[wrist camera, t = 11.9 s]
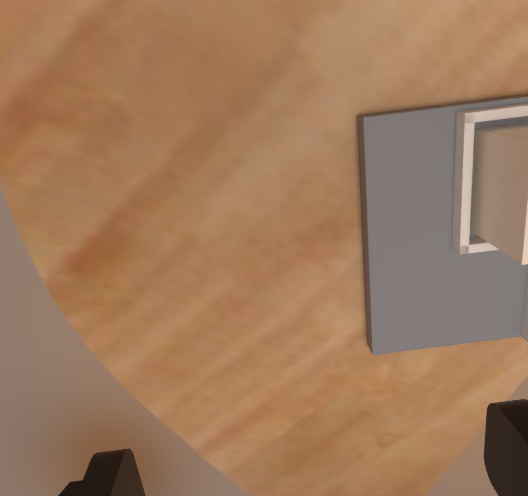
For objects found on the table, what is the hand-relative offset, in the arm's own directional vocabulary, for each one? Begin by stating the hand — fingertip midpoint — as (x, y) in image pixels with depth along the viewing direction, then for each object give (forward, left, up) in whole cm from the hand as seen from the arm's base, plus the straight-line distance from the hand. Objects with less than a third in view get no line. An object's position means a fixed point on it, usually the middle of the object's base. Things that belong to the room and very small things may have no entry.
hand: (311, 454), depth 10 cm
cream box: (+3, +21, -30) cm, 37 cm away
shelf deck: (+7, +17, -32) cm, 37 cm away
